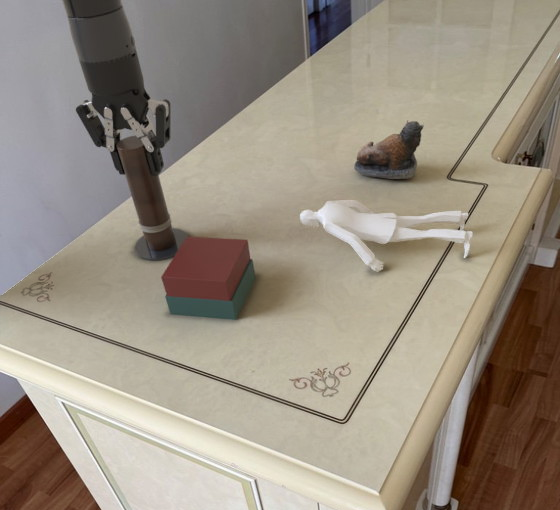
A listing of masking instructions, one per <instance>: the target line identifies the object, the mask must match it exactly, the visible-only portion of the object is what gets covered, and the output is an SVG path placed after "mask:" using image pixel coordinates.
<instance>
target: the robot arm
mask: <svg viewBox="0 0 560 510" xmlns="http://www.w3.org/2000/svg"><path fill="white" fill-rule="evenodd" d="M61 1H62V5H63V7H64V11H65V13H66V18H67V21H68V26H69V31H70V37H71V39H72V43H73V46H74V49H75V52H76V55H77V58H78V62H79V64H80V67H81V68H80V69H81V71H82V74H83V77H84V80H85V83H86V84H85V85H86V86H87V90H88V92H89V93H90V94H91V100H88V99H85V100H83V101H82V102H81V103H80V104H79V105H78V106H77V107H75V112H76V114H77V116H78V118H79V119H80V121H81V123H82V125H83V126H84V128H85V129H86V131H87V134H88V136H89V137H90V138H91V140H92V142H93V144H94V145H95V147H97V148H101V147H102V148H105V149H106V150H107V151H109V154H110V156H111V160H112V163H113V166H114V168H115V170H116V171H117V172H118V174H119V175H122V176H125V173H124V169H123V166H122V163H121V160H120V156H119V153H118V150H117V147H116V145H117V143H118V142H119V141H120V140H122V131H123V130H129V131H132V132H133V133H134V136H136V137H137V138H139V139H141V141H142V143H143V144H144V146H145V148H146V149H147V152H146V154H147V158H148V161H149V165H150V169H151V172H152V175H153V176H158V175H159V176H160V174H161V172H162V171H163V169H164V167H165V161H164V159H163V155H162V150H161V149H163V148H164V147H166V144H168V142H170V140H171V101H169V99H165V98H164V99H163V100H162V101H160V100H157V99H153V98H151V96H150V94H149V93H148V92H147V90H146V89H145V82H144V81H145V80H144V75H143V71H142V68H141V63H140V59H139V55H138V52H137V48H136V42H135V38H134V35H133V32H132V28H131V25H130V22H129V18H128V16H127V14H126V10H125V8H124V5H123V1H122V0H61ZM149 110H150V111H151V115H152V118H154V119H155V128H154V123H153V121H152V120H151V118H150V117H149V115H148V112H149ZM98 114H99V115H100V116H101V117H102V118H103V119H104V124H103V122H102V121H101V119H100V117H99V115H98Z"/></svg>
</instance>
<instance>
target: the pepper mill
mask: <svg viewBox="0 0 560 510" xmlns="http://www.w3.org/2000/svg"><path fill="white" fill-rule="evenodd" d="M116 147H117V150H118V153H119V156H120V160H121V163H122V166H123V169H124V173H125V175H124V176H125V179H126V183H127V185H128V188H129V192H130V196H131V198H132V202H133V206H134V208H135V212H136V215H137V217H138V225H139V228H140V230H141V232H142V235H143V236H144V238H145V241H146V245H147V247H148V249H150V250H152V251H162V250H166V249H168V248H170V247H172V246H173V245H174V244H175V241H176V240H175V236H174V232H173V224H172V222H173V221H172V217H171V214H170V213H169V210H168V206H167V202H166V198H165V195H164V191H163V187H162V183H161V179H160V174H159V175H158V176H153V175H152V172H151V169H150V165H149V161H148V158H147V154H146V152H147V149H146V148H145V146H144V144H143V143H142V141H141V139H139V138H137V137H136V135H130V136H127V137H124V138H121V140H120V141H119V142H118V143H117V145H116Z"/></svg>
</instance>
